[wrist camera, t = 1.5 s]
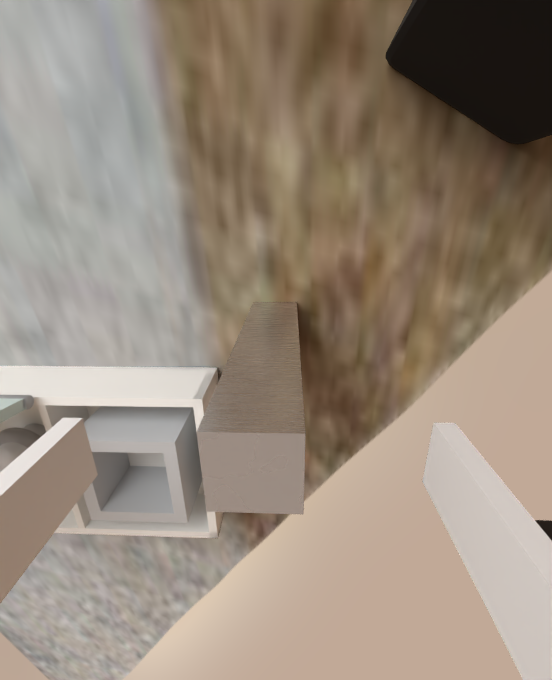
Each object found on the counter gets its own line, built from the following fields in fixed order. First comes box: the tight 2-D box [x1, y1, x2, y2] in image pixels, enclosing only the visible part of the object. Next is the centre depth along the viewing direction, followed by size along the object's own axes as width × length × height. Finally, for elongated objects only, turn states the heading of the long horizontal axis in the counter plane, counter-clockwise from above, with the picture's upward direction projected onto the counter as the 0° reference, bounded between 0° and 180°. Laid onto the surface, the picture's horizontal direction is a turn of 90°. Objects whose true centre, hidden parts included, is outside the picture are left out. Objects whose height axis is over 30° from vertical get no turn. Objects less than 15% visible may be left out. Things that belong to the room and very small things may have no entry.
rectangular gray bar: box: [197, 302, 305, 514], centre depth 18 cm, size 3×3×16 cm
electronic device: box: [386, 0, 552, 144], centre depth 14 cm, size 4×10×10 cm, turn 63°
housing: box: [0, 366, 224, 538], centre depth 27 cm, size 14×22×6 cm, turn 91°
